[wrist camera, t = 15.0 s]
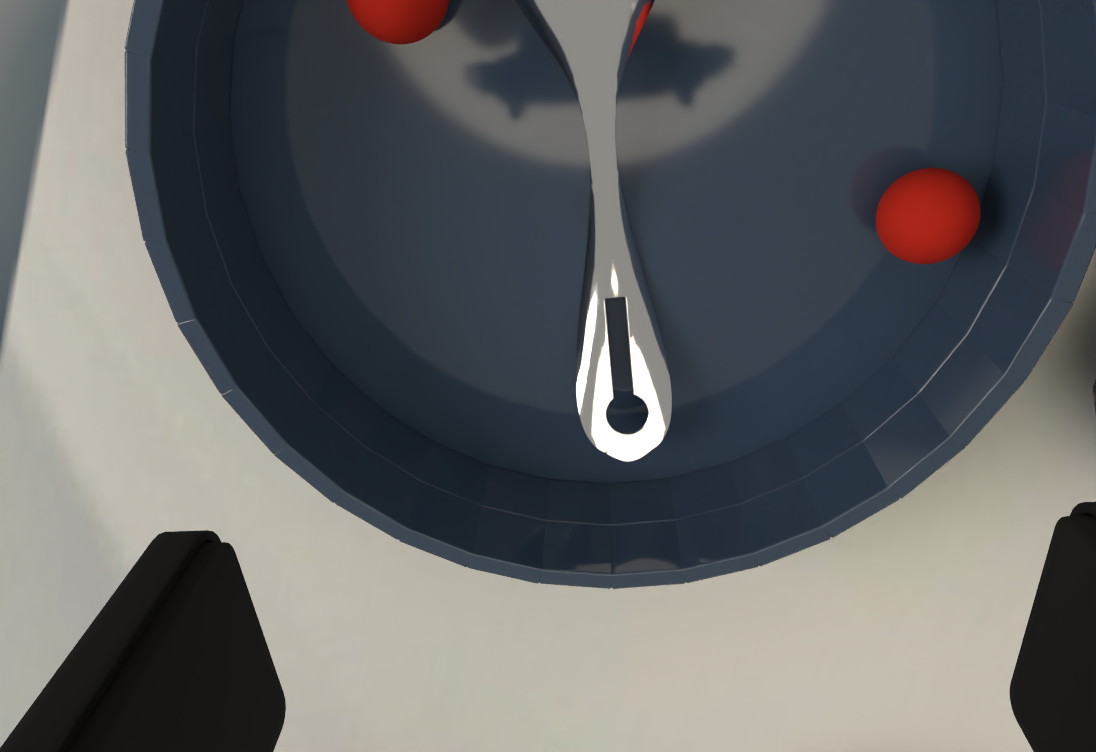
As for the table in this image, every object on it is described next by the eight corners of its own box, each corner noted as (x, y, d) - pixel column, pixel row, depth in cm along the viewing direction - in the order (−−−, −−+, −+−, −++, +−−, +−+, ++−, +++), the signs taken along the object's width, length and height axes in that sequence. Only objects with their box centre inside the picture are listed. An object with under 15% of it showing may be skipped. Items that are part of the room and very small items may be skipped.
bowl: (145, 328, 31) (53, 407, 26) (368, -569, 19) (282, -765, 14) (732, 571, 35) (756, 681, 30) (1210, -33, 23) (1390, -25, 18)
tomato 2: (978, 199, 26) (898, 257, 28) (926, 135, 25) (846, 199, 27) (1016, 235, 24) (926, 298, 25) (961, 166, 23) (870, 235, 24)
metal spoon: (699, 487, 28) (565, 496, 28) (689, 436, 31) (568, 445, 31) (667, -209, 19) (477, -179, 20) (657, -178, 23) (493, -153, 23)
